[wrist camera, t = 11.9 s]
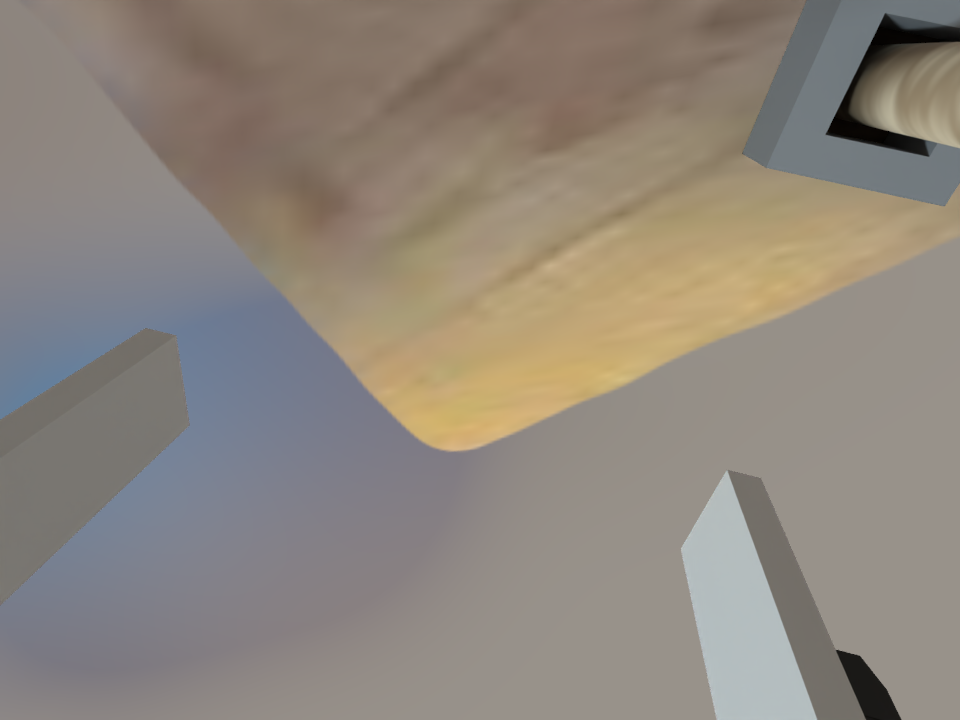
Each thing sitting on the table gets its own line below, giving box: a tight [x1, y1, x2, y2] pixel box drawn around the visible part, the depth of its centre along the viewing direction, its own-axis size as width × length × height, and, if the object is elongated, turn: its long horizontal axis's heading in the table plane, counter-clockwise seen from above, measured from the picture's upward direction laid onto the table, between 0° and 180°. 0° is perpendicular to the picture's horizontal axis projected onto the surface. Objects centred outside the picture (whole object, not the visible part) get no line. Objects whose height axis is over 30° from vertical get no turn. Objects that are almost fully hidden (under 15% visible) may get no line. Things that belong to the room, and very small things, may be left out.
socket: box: [742, 0, 960, 206], centre depth 29 cm, size 10×10×5 cm
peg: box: [835, 42, 960, 148], centre depth 24 cm, size 4×4×16 cm
